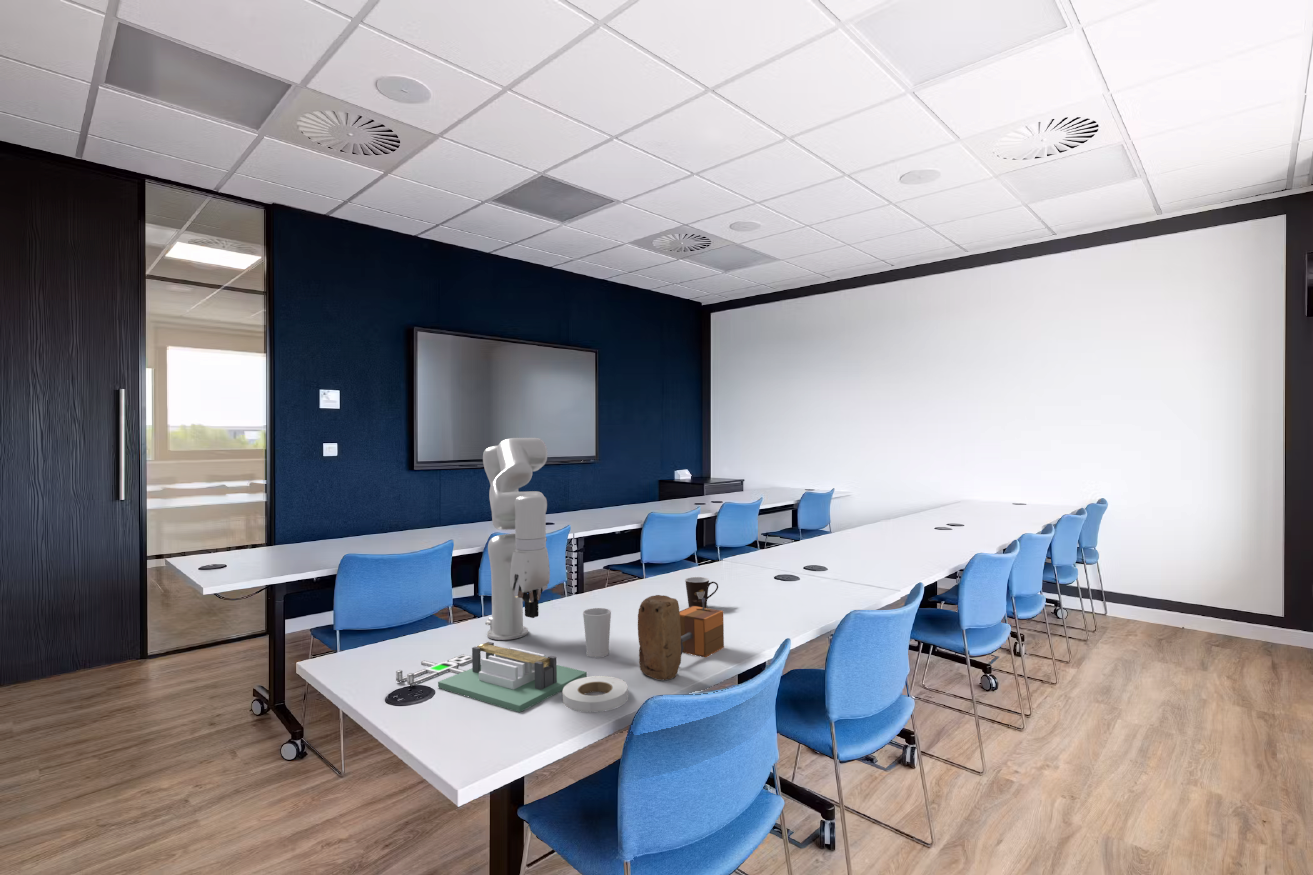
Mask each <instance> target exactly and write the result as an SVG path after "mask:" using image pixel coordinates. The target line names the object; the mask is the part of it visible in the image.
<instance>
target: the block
mask: <svg viewBox="0 0 1313 875" xmlns="http://www.w3.org/2000/svg"><path fill="white" fill-rule="evenodd" d="M679 611H680V605H679V601H678V600H677V598H672V597H669V596H668V595H660V594H655V595H650V596H648V597H646V598H645V599H643V600H642V601H641V603H640V605H639V607H638V612H637V613H638V614H637V636H638V637H637V638H638V644H639V648H638V649H639V650H638V657H639V659H638V663H639V669H640V670H639V671H641V672H642V673H643V674H644V675H646V676H648V677H650V678H652V679H654V680H656V681H657V680H658V681H669V680H672V679H675V677H676V676H677V675H678V673H679V669H680V665H681V663H682V662H681V661H682V655H681V627H680V613H679Z"/></svg>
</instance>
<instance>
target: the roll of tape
mask: <svg viewBox="0 0 1313 875" xmlns="http://www.w3.org/2000/svg"><path fill="white" fill-rule="evenodd" d="M598 692H599V693H601V694H598V695H597V694H596V695H593V694H592V695H589V694H590V693H598ZM628 700H629V686H628V684H627V682H626V681H625V680H624V679H620V678H618V677H614V676H608V675H593V676H587V677H584V678H580V679H577V680H574V681H572V682H570V683H568V684H567V685H566V686H565V687H564V688H563V690H562V704H563V705H564V706H565V707H567V708H568V709H569V710H572V711H576V712H580V711H581V712H582V713H599V712H598V711H602V712H606V711H605V710H608V711H611V710H614V708H615V709H617V708H619V706H620V707H622V706H623V705H625V704H626V703H627V702H628Z"/></svg>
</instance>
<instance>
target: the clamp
mask: <svg viewBox="0 0 1313 875" xmlns="http://www.w3.org/2000/svg"><path fill="white" fill-rule="evenodd" d="M702 602H703V607H697V606H691V607H689V606H688V607H687V608H685V609H682V610H679V613H680V627H681V656H682V655H683V654H687V655H691V654H692V656H695V655H696V656H697V657H700V656H701V657H702V658H708V657H710V656H711V654H712V655H714V654H715V653H717V652H719V651H721V650H723V649H724V648H725V640H724V639H725V637H724V636H725V634H724V632H725V630H724V629H725V628H724V627H725V626H724V625H725V624H724V610H722V609H714V608H709V607H708V608H707V607H706V608H704V602H705V598H702Z"/></svg>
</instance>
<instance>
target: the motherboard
mask: <svg viewBox="0 0 1313 875" xmlns="http://www.w3.org/2000/svg"><path fill="white" fill-rule="evenodd" d="M485 643H489V645H494V646H495V642H492V641H487V642H485ZM508 649H511V650H515V651H520V652H524V653H528V654H533V655H537V656H541V657H546V655H545V654H543V653H542V654H541V653H538V652H534V651H529V650H525V649H520V648H516V647H509V648H508ZM471 656H472V662H471V663H472V664H471V667H472V668H469V669H467V670H465V671H464V672H461V673H459V674H458V673H455V674H454V675H452V676H449V677H447V678H444V679H442V680H439V681H437V687H439V689H440V688H442V689H441V690H444V689H445V690H444V691H447V690H448V691H449V692H450V691H452V692H451V693H454V694H457V693H459V694H458V695H460V694H461V696H464V695H465V696H464V697H467V696H469V697H468V698H470V697H471V699H474V698H475V699H474V700H478V701H480V700H481V701H480V702H484V703H488V704H490V705H494V706H497V707H501V708H504V709H507V710H511V711H514V712H517V713H520V712H522V711H525V710H527V709H528V708H530V707H532V706H534V705H536V704H539V703H540V702H542V701H545V700H546V699H549V698H550V697H552V696H554V695H556V694H558V693H561V692H563V688H564V687H565V686H566V685H567V684H568V683H570V682H572V681H574V680H577V679H580V678H584V677H588V673H587V671H584V670H579V669H576V668H572V667H567V666H564V665H559V664H557V656H553V655H549V656H547V658H550V665H549V666H546V667H544V663H542V662H538V661H537V662H535V663H534V664H533V663H529V662H525V661H521V660H517V659H512V658H508V657H504V656H500V655H496V654H492V653H488V652H485V657H483V658H481V657H482V656H481V652H480V648H479V647H477V646H473V647H471ZM448 691H447V692H448Z"/></svg>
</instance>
